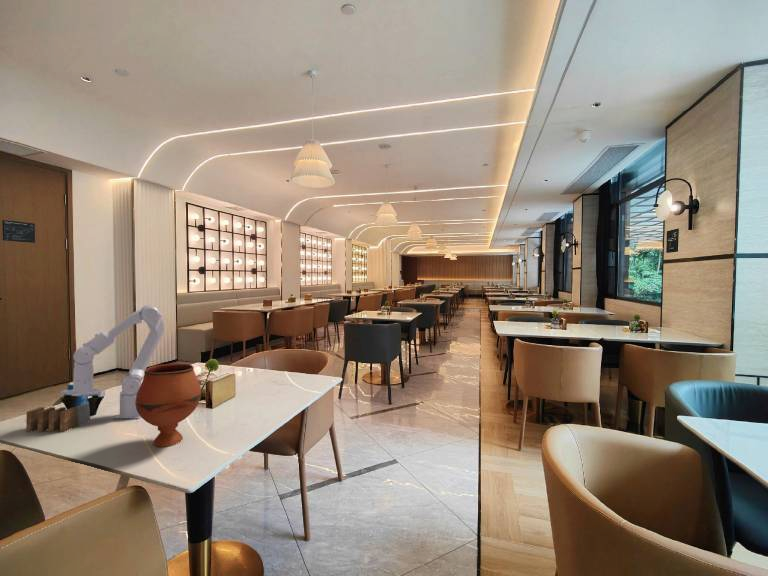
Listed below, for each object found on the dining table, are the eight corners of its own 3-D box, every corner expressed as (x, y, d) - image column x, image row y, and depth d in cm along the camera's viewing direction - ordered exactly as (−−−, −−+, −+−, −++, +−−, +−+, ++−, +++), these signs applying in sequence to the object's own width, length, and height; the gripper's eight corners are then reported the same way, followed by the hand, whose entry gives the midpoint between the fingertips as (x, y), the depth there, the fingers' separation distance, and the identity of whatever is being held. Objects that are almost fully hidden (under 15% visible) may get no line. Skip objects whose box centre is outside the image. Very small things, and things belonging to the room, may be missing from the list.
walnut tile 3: (65, 426, 131) (65, 407, 131) (53, 431, 126) (53, 412, 126) (60, 426, 131) (61, 407, 131) (48, 431, 126) (49, 412, 126)
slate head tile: (90, 420, 136) (90, 402, 136) (79, 425, 131) (79, 406, 131) (85, 420, 136) (86, 402, 136) (75, 425, 131) (75, 406, 131)
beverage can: (75, 415, 141) (76, 385, 141) (62, 414, 142) (63, 384, 142) (92, 410, 148) (92, 381, 147) (79, 408, 149) (79, 380, 149)
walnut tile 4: (54, 426, 131) (55, 407, 131) (42, 431, 126) (42, 412, 126) (50, 426, 131) (50, 407, 131) (37, 431, 126) (37, 412, 126)
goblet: (172, 457, 109) (173, 376, 109) (118, 451, 112) (119, 372, 112) (212, 432, 128) (213, 363, 128) (165, 427, 131) (166, 360, 131)
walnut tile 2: (76, 426, 131) (76, 407, 131) (64, 432, 126) (64, 412, 126) (71, 426, 131) (72, 407, 131) (59, 432, 126) (60, 412, 126)
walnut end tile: (44, 426, 131) (44, 407, 130) (31, 431, 126) (31, 412, 125) (39, 426, 130) (39, 407, 130) (26, 431, 125) (26, 412, 125)
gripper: (54, 381, 130) (53, 419, 130) (95, 382, 130) (94, 419, 130) (70, 376, 137) (69, 412, 137) (109, 377, 137) (108, 412, 137)
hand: (82, 415), depth 134 cm, fingers open, 7 cm apart
